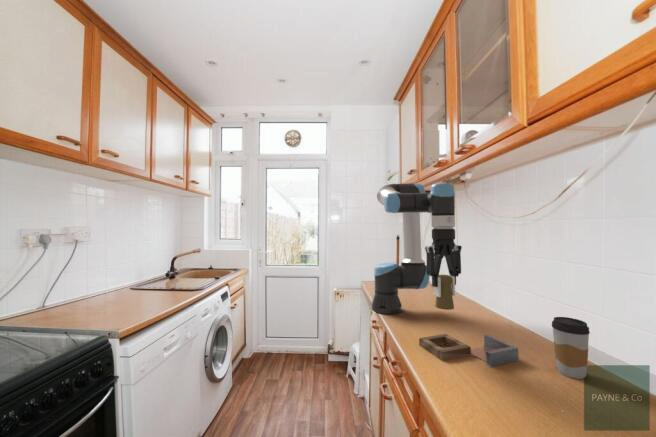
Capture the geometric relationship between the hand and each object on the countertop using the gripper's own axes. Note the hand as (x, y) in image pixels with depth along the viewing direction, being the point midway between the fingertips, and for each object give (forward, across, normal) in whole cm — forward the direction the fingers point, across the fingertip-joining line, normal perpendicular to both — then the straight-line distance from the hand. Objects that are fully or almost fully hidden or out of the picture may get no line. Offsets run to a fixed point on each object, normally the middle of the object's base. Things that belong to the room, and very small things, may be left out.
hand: (444, 295), depth 95 cm
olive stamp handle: (+4, 0, 0) cm, 4 cm away
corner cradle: (+19, +11, -8) cm, 23 cm away
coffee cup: (+19, +24, -24) cm, 39 cm away
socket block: (+19, 0, 0) cm, 19 cm away
